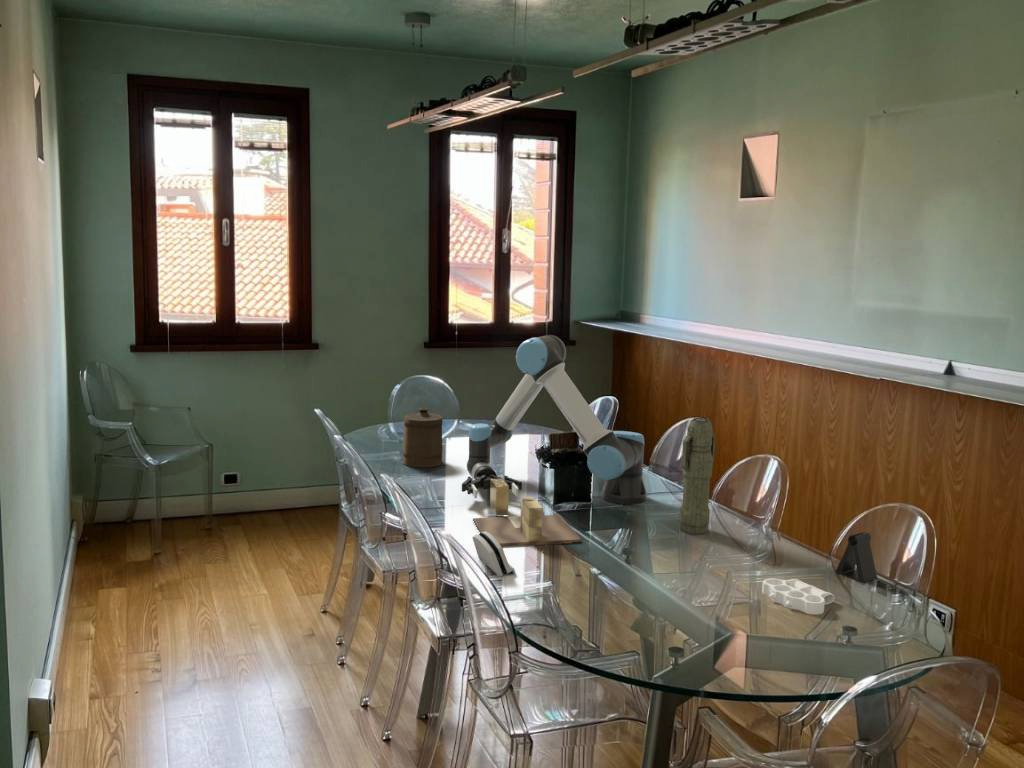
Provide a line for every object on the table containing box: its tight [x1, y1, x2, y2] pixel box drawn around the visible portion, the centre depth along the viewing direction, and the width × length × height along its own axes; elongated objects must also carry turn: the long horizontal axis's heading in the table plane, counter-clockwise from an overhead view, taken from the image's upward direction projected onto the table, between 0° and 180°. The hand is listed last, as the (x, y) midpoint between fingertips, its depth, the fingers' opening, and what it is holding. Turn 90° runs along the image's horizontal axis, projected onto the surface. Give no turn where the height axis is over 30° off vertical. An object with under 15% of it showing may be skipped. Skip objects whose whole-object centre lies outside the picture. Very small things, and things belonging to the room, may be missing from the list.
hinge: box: [472, 531, 517, 578], centre depth 264 cm, size 17×5×10 cm, turn 22°
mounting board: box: [472, 496, 582, 548], centre depth 292 cm, size 28×24×11 cm
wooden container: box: [402, 405, 443, 469], centre depth 369 cm, size 15×15×22 cm
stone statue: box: [679, 417, 716, 536], centre depth 296 cm, size 9×12×35 cm
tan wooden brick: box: [489, 479, 510, 516], centre depth 311 cm, size 4×9×10 cm, turn 13°
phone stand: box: [835, 531, 878, 584], centre depth 263 cm, size 9×6×12 cm, turn 36°
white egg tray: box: [761, 577, 836, 615], centre depth 246 cm, size 3×18×15 cm
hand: (496, 493), depth 312 cm, fingers open, 13 cm apart
